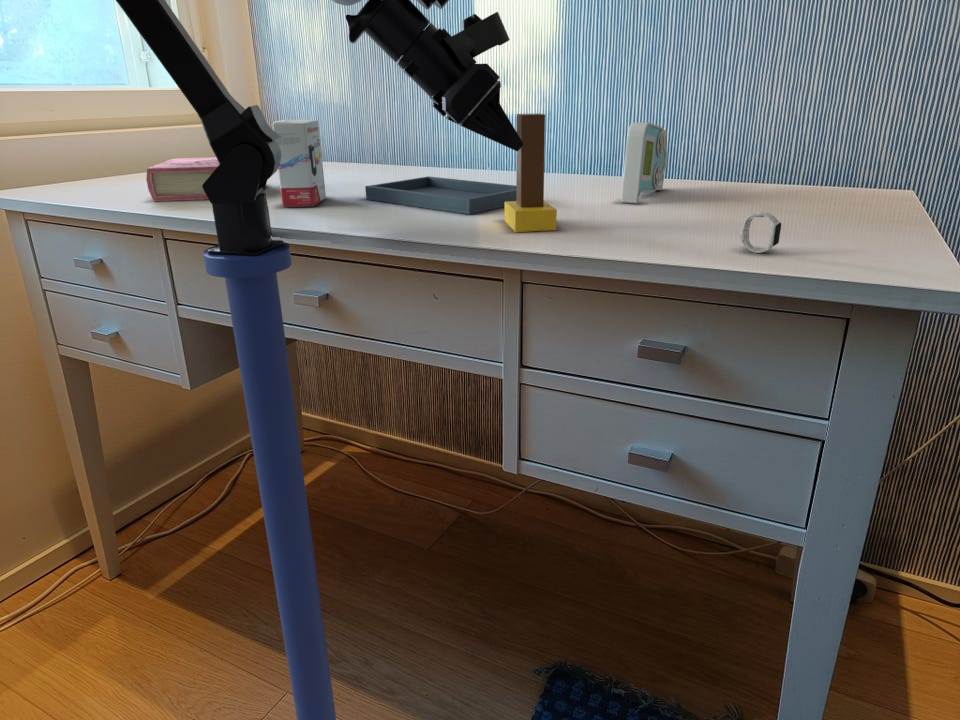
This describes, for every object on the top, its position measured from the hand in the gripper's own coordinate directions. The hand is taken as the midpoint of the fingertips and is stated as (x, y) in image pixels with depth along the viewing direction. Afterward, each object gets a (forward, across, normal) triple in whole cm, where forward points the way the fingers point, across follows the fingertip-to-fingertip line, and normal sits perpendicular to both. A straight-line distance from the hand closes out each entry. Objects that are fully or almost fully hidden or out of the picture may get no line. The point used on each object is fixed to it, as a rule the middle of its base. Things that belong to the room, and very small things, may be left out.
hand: (512, 144), depth 81 cm
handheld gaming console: (+24, +18, -10) cm, 32 cm away
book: (-24, +39, +38) cm, 60 cm away
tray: (+3, +22, +11) cm, 25 cm away
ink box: (-12, +25, +26) cm, 38 cm away
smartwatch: (+23, -19, -8) cm, 31 cm away
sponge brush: (+8, 0, +5) cm, 10 cm away
